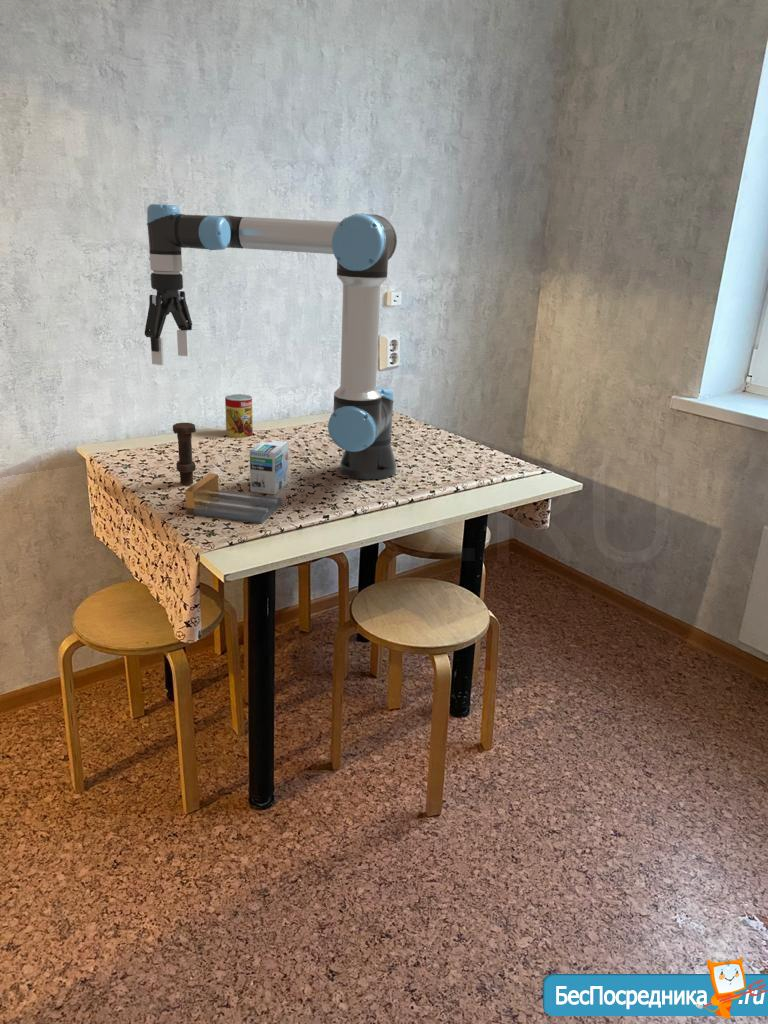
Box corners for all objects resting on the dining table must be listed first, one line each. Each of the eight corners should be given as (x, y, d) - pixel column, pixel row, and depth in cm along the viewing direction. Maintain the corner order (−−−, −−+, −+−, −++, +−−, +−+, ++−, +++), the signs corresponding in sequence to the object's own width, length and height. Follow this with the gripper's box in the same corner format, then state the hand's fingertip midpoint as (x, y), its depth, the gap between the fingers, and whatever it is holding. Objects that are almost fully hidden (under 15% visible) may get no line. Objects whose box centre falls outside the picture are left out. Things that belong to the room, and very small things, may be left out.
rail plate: (281, 504, 182) (281, 482, 180) (261, 523, 170) (261, 500, 168) (210, 495, 185) (210, 473, 183) (186, 513, 173) (185, 490, 171)
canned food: (250, 440, 230) (249, 400, 226) (223, 438, 230) (222, 399, 226) (254, 433, 238) (254, 394, 233) (229, 431, 238) (228, 393, 233)
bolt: (183, 488, 188) (180, 429, 183) (170, 483, 191) (167, 425, 186) (202, 483, 193) (200, 425, 187) (189, 478, 196) (187, 421, 190)
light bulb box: (275, 495, 187) (275, 452, 183) (249, 492, 188) (248, 449, 184) (289, 481, 197) (289, 441, 193) (264, 479, 198) (263, 438, 194)
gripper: (176, 268, 200) (180, 351, 207) (125, 274, 177) (131, 367, 185) (203, 270, 198) (206, 353, 206) (155, 276, 175) (160, 369, 183)
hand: (171, 360), depth 195 cm, fingers open, 13 cm apart
